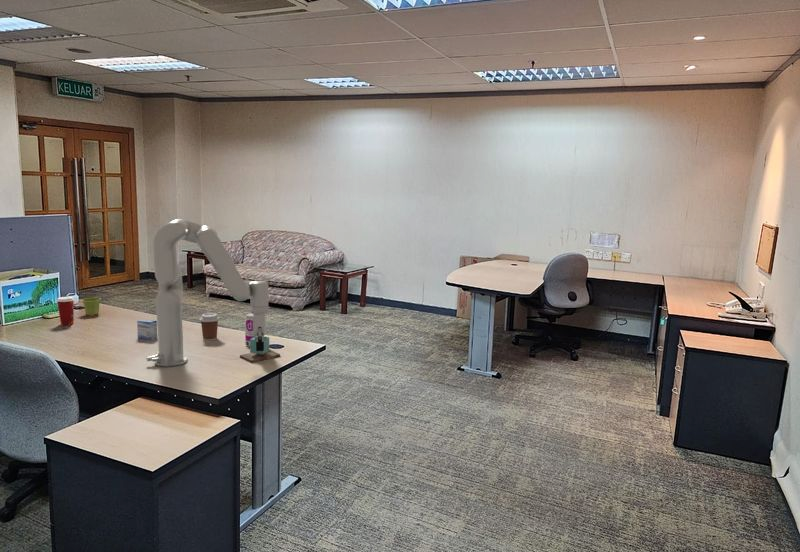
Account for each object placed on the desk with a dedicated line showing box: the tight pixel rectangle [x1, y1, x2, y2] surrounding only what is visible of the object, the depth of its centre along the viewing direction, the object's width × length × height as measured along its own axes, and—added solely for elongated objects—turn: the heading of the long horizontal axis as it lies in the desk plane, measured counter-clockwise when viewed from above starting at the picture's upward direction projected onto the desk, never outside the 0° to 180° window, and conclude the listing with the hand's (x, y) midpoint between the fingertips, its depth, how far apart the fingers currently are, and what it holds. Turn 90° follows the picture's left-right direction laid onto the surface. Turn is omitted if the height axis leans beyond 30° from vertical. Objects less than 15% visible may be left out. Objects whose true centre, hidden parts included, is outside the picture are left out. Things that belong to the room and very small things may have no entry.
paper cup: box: [56, 296, 75, 326], centre depth 279 cm, size 8×8×14 cm
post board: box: [239, 349, 281, 364], centre depth 236 cm, size 14×10×6 cm
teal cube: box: [249, 336, 270, 354], centre depth 235 cm, size 6×6×6 cm
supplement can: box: [244, 312, 257, 348], centre depth 252 cm, size 8×8×15 cm
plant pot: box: [81, 297, 102, 316], centre depth 301 cm, size 9×9×9 cm
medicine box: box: [136, 318, 158, 340], centre depth 259 cm, size 8×4×9 cm, turn 76°
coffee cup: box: [198, 312, 220, 342], centre depth 260 cm, size 9×9×12 cm
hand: (259, 347), depth 235 cm, fingers closed on teal cube, 8 cm apart
